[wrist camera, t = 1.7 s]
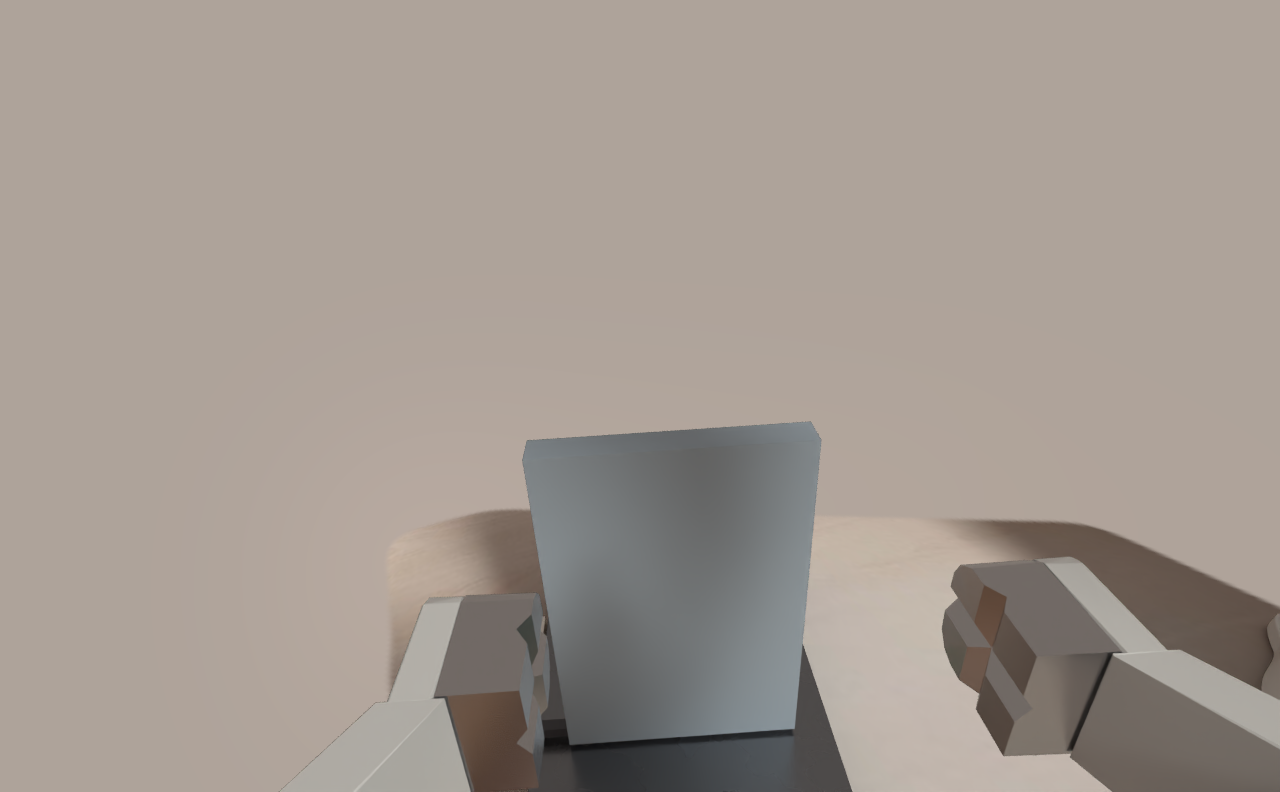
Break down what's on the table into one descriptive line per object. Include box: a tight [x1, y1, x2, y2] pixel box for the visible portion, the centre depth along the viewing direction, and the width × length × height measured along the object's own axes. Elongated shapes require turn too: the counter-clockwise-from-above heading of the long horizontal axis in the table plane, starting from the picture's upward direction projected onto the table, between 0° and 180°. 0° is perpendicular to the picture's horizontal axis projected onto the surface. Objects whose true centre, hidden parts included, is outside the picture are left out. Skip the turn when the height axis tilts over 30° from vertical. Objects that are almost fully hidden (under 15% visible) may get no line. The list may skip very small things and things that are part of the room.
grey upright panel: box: [522, 422, 821, 745], centre depth 30 cm, size 16×2×18 cm, turn 92°
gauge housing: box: [528, 616, 852, 792], centre depth 36 cm, size 19×18×6 cm
